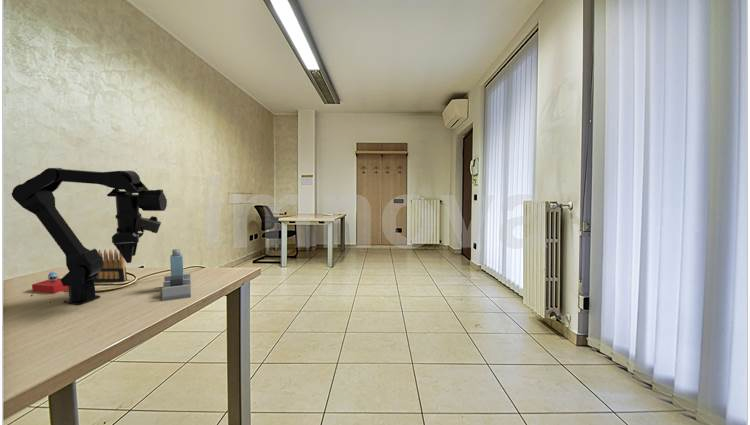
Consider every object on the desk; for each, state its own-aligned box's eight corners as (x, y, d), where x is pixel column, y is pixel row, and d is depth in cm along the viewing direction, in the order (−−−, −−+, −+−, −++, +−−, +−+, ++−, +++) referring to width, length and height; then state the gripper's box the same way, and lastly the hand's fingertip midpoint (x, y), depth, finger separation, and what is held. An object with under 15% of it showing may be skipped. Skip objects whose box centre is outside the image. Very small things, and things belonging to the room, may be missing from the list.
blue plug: (171, 288, 116) (169, 251, 115) (172, 284, 119) (170, 249, 118) (183, 286, 118) (182, 250, 116) (183, 283, 121) (182, 248, 119)
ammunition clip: (127, 280, 125) (125, 248, 124) (124, 281, 124) (122, 250, 122) (95, 280, 124) (93, 248, 122) (92, 282, 122) (89, 250, 121)
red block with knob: (74, 287, 117) (73, 269, 117) (54, 294, 111) (52, 275, 110) (54, 285, 118) (52, 268, 117) (32, 292, 111) (30, 274, 111)
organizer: (162, 300, 108) (161, 282, 107) (165, 286, 120) (164, 270, 120) (190, 297, 112) (190, 279, 111) (190, 283, 124) (190, 267, 123)
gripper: (156, 213, 101) (158, 263, 103) (160, 206, 117) (162, 250, 120) (109, 215, 96) (113, 268, 98) (120, 207, 112) (124, 253, 114)
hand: (131, 259), depth 108 cm, fingers open, 9 cm apart
